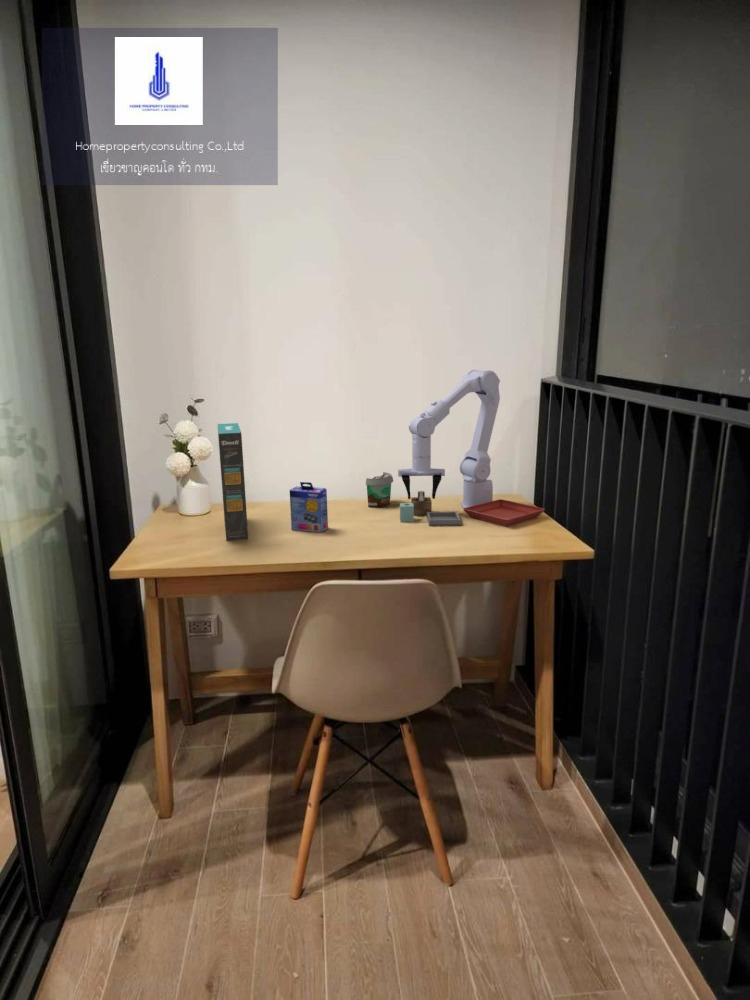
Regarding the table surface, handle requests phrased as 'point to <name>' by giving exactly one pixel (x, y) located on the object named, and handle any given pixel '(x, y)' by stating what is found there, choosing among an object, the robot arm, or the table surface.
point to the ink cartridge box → (308, 508)
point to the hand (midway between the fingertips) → (421, 498)
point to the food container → (379, 490)
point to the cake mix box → (233, 481)
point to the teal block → (406, 512)
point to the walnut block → (421, 506)
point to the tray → (443, 519)
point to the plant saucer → (503, 512)
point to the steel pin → (421, 496)
